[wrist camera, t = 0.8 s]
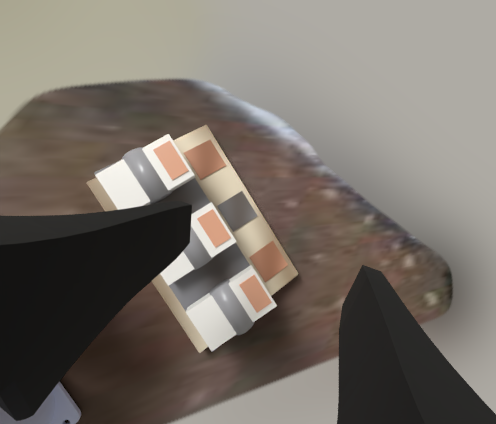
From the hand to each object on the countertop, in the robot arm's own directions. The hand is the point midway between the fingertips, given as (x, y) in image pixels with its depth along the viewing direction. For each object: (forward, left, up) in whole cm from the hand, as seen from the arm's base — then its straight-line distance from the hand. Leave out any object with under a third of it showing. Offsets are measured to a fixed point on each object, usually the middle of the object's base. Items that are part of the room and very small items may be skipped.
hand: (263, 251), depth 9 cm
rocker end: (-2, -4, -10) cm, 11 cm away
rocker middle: (-2, +2, -10) cm, 10 cm away
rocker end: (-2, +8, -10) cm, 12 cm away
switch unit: (0, +2, -15) cm, 15 cm away
